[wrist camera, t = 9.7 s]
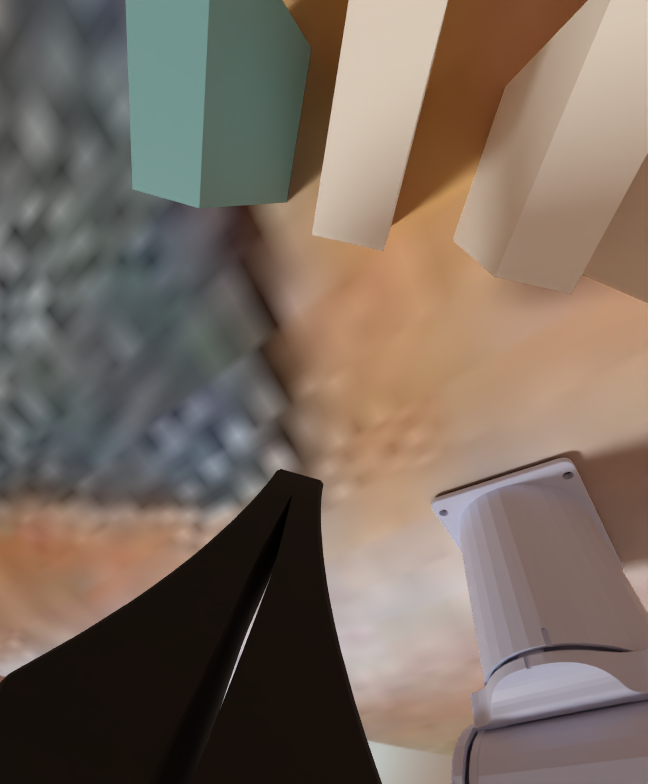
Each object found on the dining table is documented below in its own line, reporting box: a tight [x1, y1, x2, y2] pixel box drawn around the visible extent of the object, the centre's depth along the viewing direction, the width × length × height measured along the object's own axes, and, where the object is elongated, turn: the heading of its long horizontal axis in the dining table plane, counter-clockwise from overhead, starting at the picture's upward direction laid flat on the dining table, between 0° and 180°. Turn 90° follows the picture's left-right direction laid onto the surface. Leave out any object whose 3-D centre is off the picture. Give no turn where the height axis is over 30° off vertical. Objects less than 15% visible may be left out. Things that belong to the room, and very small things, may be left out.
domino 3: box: [453, 0, 648, 294], centre depth 11 cm, size 2×5×8 cm, turn 169°
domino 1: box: [126, 0, 311, 208], centre depth 11 cm, size 2×5×8 cm, turn 167°
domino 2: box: [312, 0, 448, 251], centre depth 11 cm, size 2×5×8 cm, turn 170°
